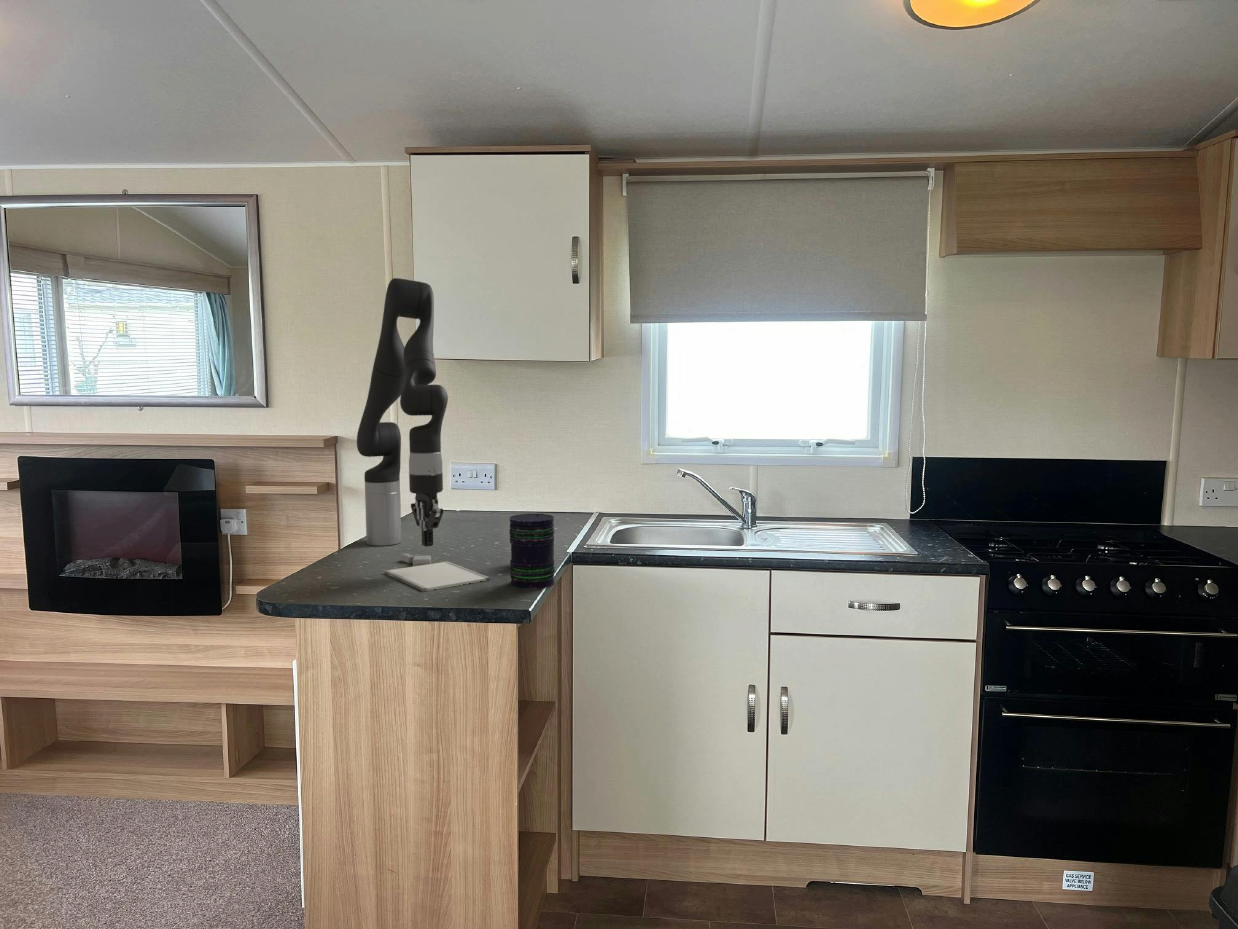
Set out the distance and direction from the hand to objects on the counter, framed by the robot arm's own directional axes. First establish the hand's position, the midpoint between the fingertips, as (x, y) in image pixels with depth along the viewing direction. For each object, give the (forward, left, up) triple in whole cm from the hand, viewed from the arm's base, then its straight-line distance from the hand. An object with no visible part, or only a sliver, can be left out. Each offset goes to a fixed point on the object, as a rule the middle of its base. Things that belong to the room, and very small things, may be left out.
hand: (427, 545), depth 194 cm
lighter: (-8, +1, -6) cm, 10 cm away
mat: (+4, 0, -7) cm, 8 cm away
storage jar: (+23, +14, -7) cm, 28 cm away
